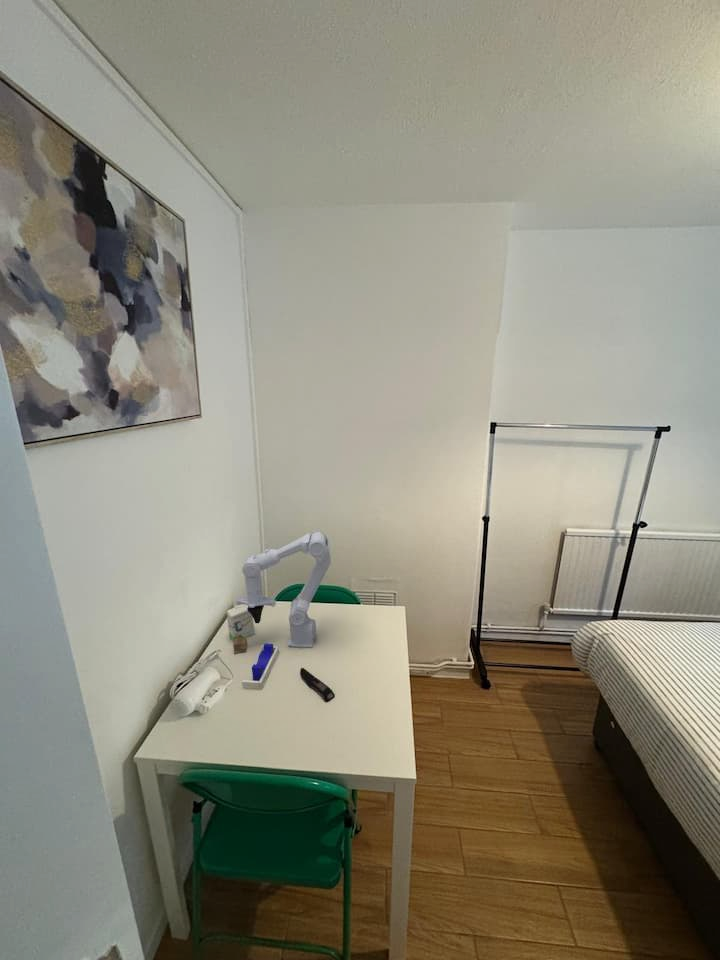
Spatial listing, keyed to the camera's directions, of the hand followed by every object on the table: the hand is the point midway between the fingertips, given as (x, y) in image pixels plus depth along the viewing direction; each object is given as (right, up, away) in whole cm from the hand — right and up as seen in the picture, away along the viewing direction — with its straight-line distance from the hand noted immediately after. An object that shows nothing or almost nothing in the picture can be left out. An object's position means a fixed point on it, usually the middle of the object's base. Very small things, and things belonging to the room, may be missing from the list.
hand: (257, 621), depth 141 cm
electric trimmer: (+24, -14, -20) cm, 34 cm away
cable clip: (+5, -13, -11) cm, 17 cm away
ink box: (-8, -8, +7) cm, 14 cm away
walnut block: (-6, -10, -1) cm, 12 cm away
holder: (+5, -12, -11) cm, 17 cm away
